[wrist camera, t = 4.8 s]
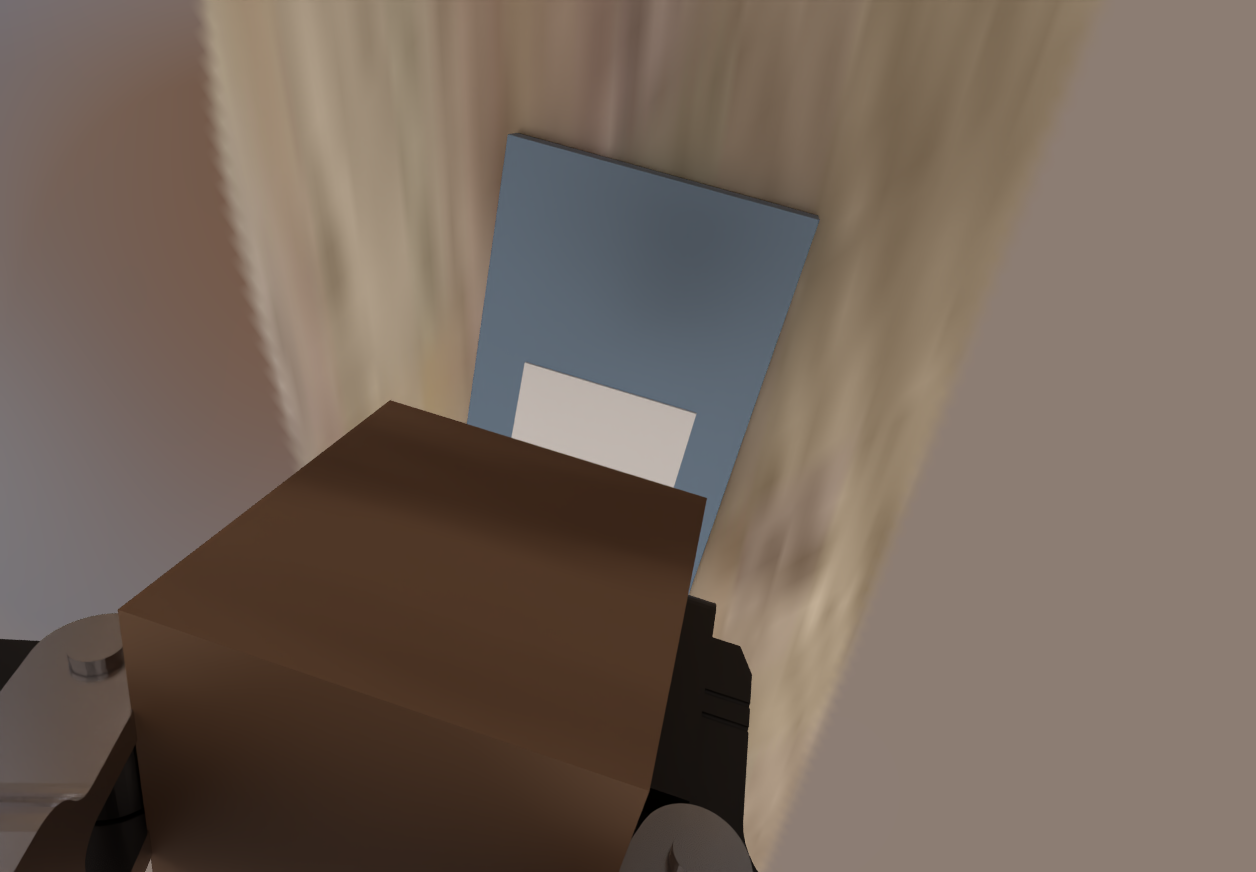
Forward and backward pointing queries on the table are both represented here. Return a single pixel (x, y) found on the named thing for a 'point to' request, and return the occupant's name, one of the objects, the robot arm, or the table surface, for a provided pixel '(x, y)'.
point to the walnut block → (414, 661)
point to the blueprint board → (631, 315)
